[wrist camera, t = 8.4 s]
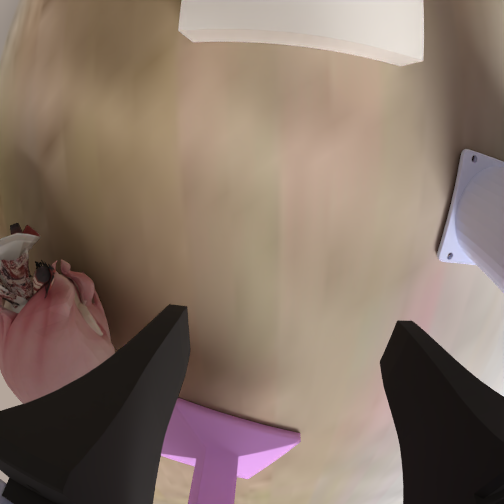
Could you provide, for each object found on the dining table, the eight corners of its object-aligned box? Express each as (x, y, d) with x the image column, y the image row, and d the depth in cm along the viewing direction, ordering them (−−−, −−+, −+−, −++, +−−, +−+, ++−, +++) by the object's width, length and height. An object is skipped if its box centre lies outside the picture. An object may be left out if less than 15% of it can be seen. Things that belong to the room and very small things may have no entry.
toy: (-21, 232, 19) (42, 368, 25) (-92, 282, 9) (14, 447, 15) (86, 191, 21) (142, 349, 27) (27, 228, 11) (139, 441, 17)
